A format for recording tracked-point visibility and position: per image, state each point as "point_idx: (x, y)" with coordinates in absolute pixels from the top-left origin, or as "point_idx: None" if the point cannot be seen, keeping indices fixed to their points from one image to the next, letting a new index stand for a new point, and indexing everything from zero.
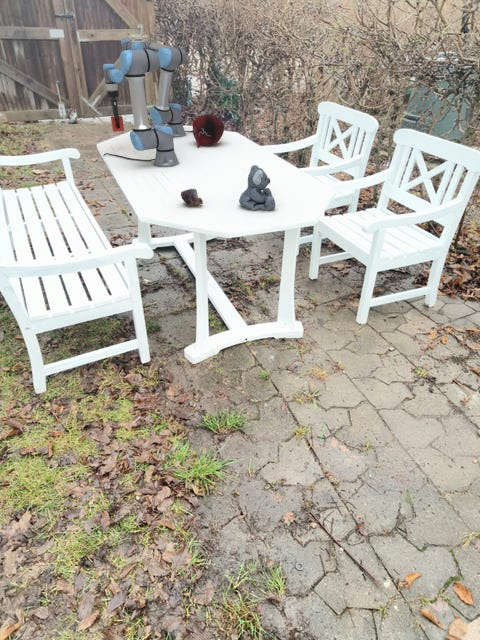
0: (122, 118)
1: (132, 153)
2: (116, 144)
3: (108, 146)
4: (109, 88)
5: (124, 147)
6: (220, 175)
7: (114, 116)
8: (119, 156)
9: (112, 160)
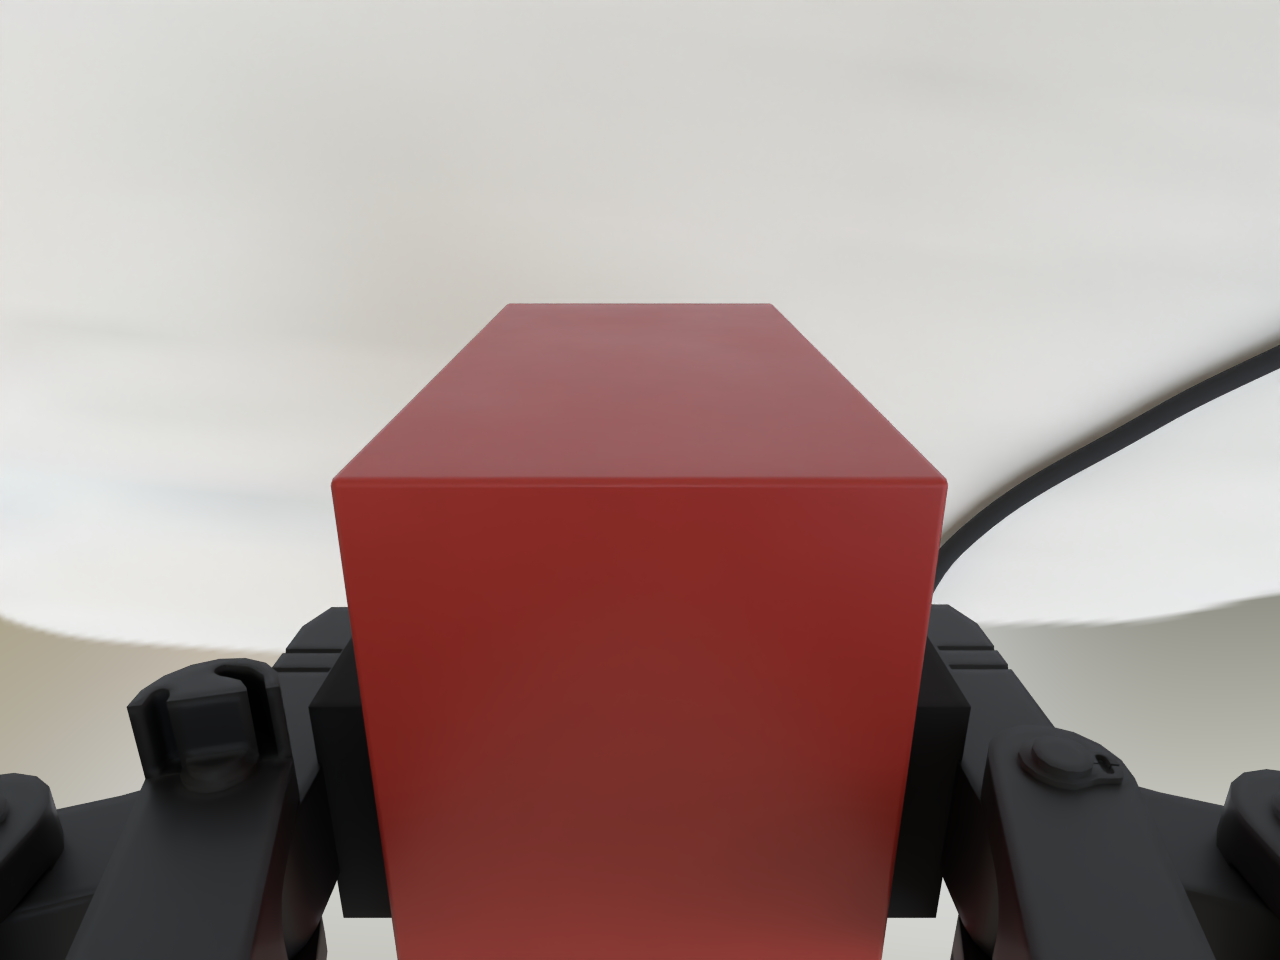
0: (902, 444)
1: (959, 158)
2: (81, 393)
3: (226, 550)
4: None
5: (380, 262)
6: None
7: (617, 954)
8: (1121, 445)
9: (1257, 574)
